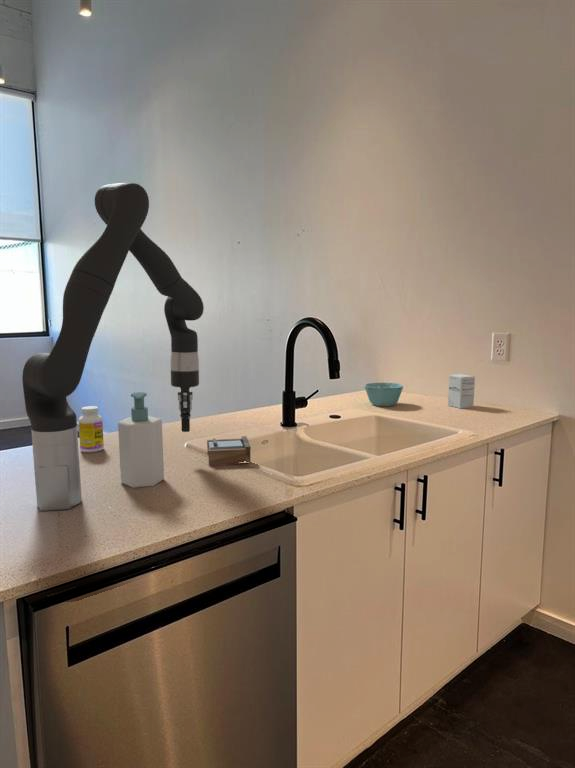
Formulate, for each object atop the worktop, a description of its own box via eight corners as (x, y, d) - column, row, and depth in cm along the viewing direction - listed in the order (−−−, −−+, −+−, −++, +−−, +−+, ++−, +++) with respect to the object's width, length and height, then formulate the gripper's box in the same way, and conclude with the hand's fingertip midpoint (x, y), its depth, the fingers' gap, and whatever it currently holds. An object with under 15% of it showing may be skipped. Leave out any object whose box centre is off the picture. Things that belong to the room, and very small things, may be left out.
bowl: (357, 402, 242) (358, 382, 240) (391, 400, 246) (392, 381, 245) (374, 409, 227) (374, 388, 226) (409, 407, 232) (410, 386, 230)
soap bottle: (121, 489, 136) (116, 397, 133) (121, 477, 145) (116, 391, 142) (165, 485, 139) (161, 395, 136) (163, 473, 148) (159, 389, 144)
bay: (250, 463, 156) (250, 446, 156) (208, 465, 155) (208, 449, 154) (246, 451, 168) (246, 436, 167) (207, 453, 166) (207, 437, 165)
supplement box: (447, 405, 234) (448, 374, 232) (461, 404, 237) (462, 373, 235) (459, 408, 227) (461, 377, 225) (474, 407, 230) (475, 375, 228)
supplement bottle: (96, 453, 167) (94, 410, 165) (75, 452, 168) (73, 409, 166) (108, 447, 173) (105, 405, 171) (88, 446, 174) (85, 404, 172)
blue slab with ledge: (243, 461, 159) (242, 442, 158) (210, 463, 157) (209, 443, 157) (240, 455, 165) (240, 436, 164) (209, 457, 163) (208, 438, 162)
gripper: (199, 371, 150) (200, 436, 152) (198, 365, 163) (199, 425, 165) (169, 371, 148) (171, 437, 151) (171, 365, 161) (172, 426, 164)
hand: (185, 431), depth 158 cm, fingers closed
